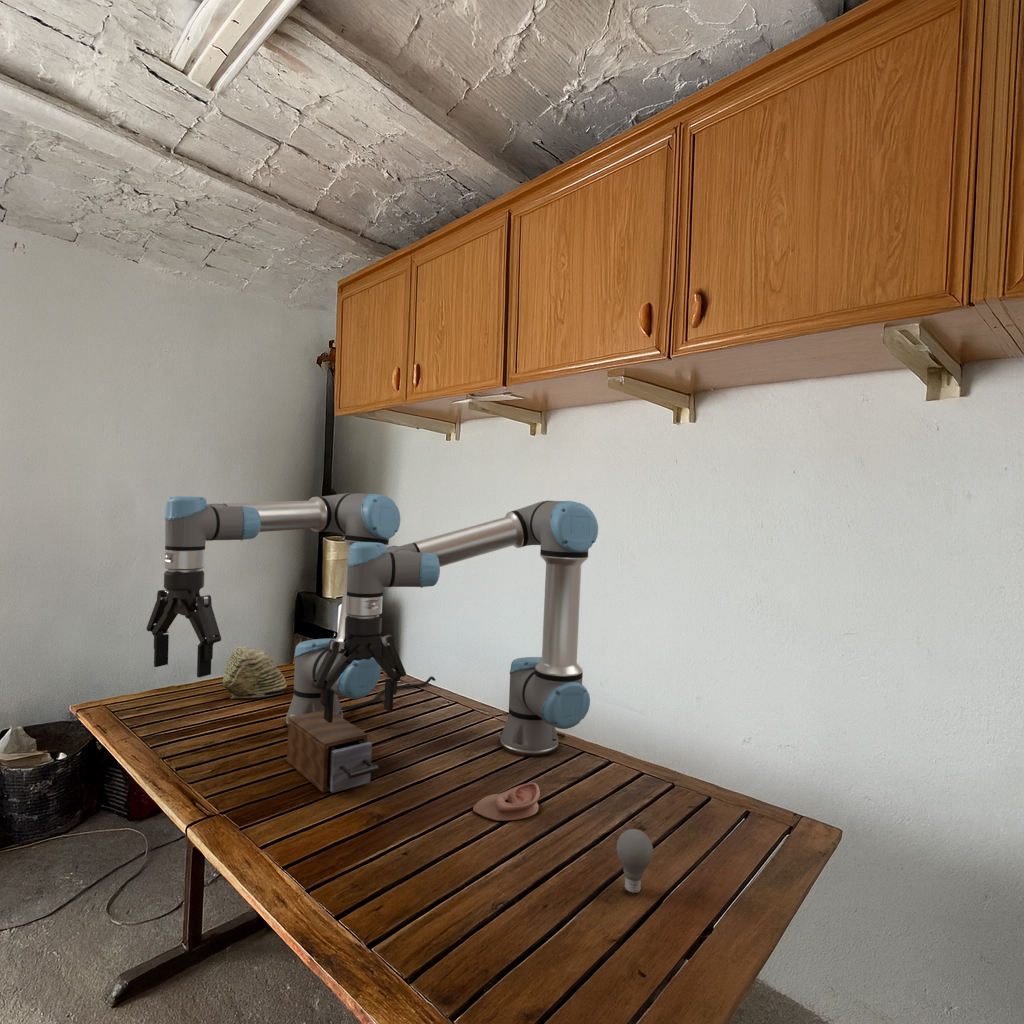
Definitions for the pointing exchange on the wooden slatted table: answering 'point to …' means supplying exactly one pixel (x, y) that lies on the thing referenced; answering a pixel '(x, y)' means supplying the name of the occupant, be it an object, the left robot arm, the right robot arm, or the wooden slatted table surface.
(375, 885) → the wooden slatted table surface
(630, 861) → the light bulb
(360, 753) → the drawer
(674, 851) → the wooden slatted table surface
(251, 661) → the fossil
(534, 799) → the anatomical model
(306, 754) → the cabinet
